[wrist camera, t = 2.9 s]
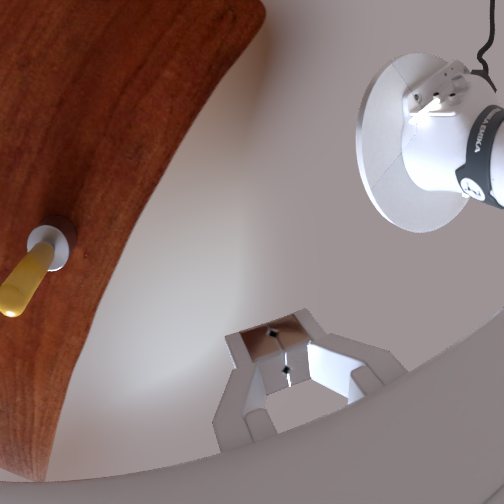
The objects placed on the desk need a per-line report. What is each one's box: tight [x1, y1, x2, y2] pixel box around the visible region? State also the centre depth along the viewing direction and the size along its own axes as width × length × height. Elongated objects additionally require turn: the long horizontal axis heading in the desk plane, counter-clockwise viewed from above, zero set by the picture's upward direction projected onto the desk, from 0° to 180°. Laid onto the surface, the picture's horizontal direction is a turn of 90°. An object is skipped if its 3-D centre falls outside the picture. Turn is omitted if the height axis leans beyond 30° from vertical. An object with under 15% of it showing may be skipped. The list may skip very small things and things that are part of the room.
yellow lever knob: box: [0, 215, 77, 317], centre depth 23 cm, size 5×5×14 cm
